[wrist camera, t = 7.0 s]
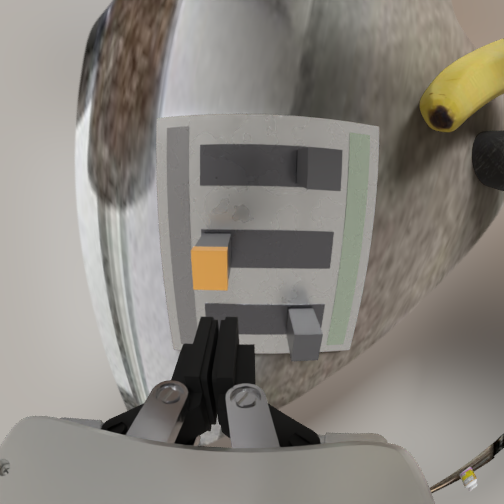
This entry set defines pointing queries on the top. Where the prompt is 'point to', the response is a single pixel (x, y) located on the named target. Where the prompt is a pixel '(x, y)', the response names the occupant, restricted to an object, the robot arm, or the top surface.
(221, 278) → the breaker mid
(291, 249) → the panel
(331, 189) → the block
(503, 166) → the travel mug
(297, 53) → the top surface
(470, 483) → the supplement bottle
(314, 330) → the breaker far
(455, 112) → the banana
